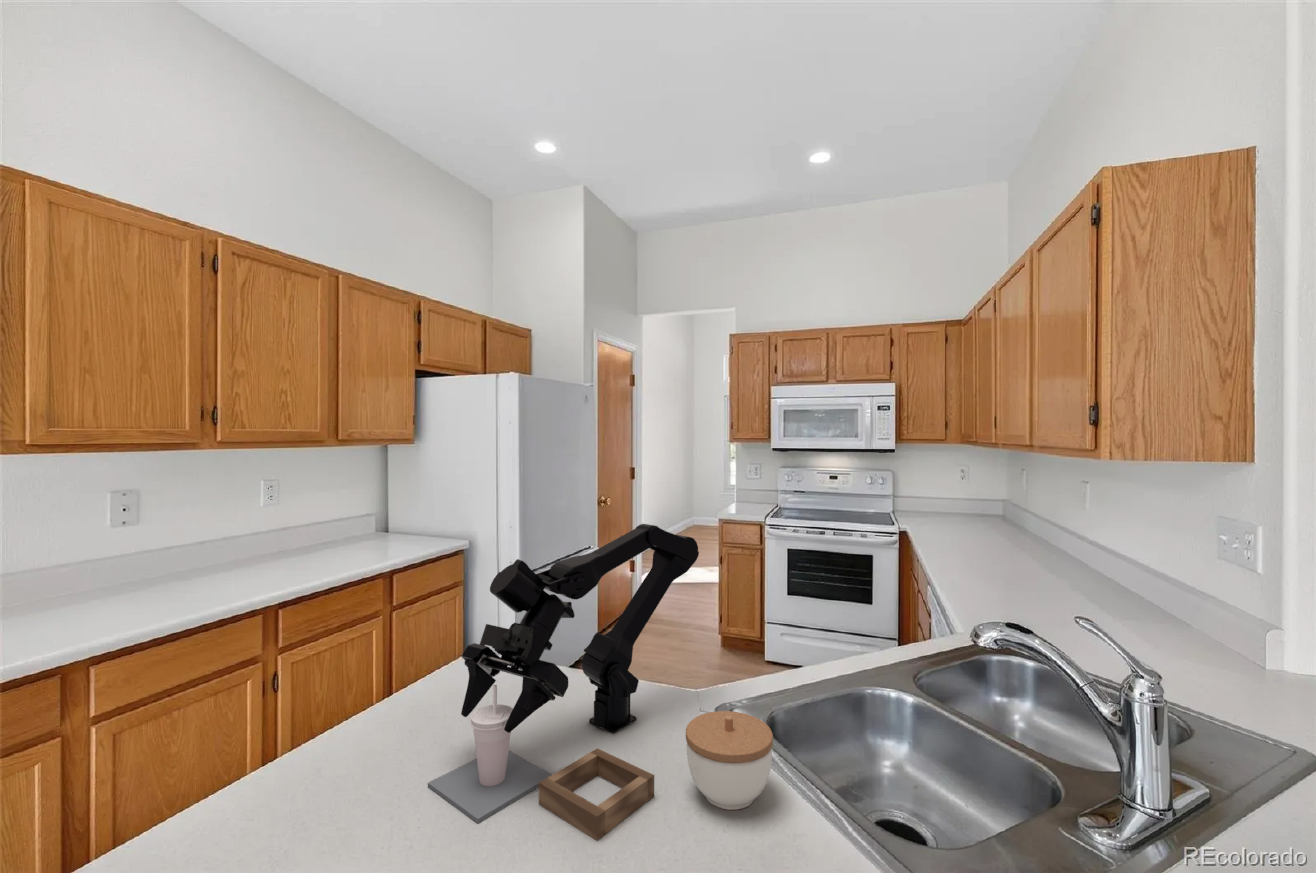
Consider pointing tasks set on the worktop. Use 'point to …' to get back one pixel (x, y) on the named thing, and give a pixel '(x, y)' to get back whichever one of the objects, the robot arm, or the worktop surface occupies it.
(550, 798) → the walnut holder
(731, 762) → the lidded bowl
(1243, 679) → the worktop surface
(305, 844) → the worktop surface
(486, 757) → the smoothie
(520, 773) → the slate mat
